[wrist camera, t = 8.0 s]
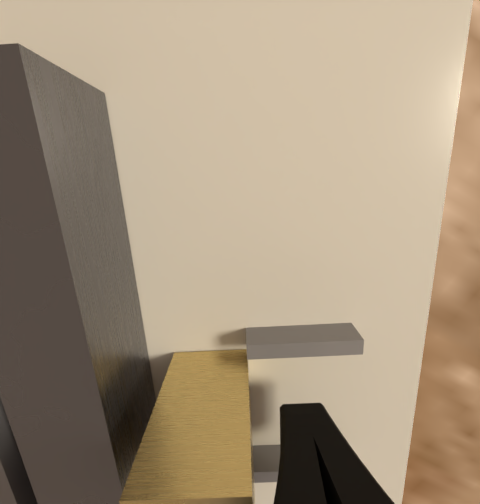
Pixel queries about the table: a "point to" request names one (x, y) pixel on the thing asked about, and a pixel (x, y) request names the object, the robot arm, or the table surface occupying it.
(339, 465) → the robot arm
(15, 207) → the block
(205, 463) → the block
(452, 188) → the table surface
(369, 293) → the hearth board
